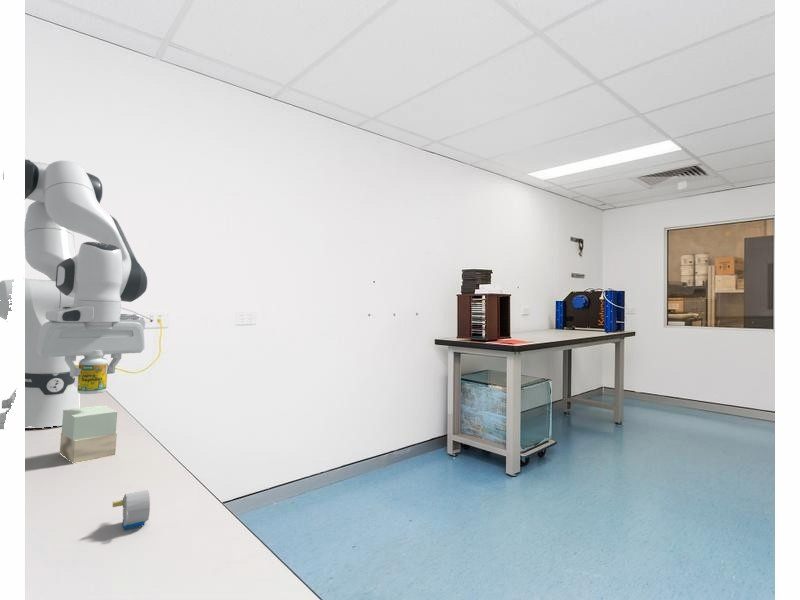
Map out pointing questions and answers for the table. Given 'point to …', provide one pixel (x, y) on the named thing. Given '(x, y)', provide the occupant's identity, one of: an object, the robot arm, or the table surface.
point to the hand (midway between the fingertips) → (92, 374)
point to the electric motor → (134, 509)
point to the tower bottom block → (88, 447)
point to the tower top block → (89, 422)
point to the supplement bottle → (93, 373)
